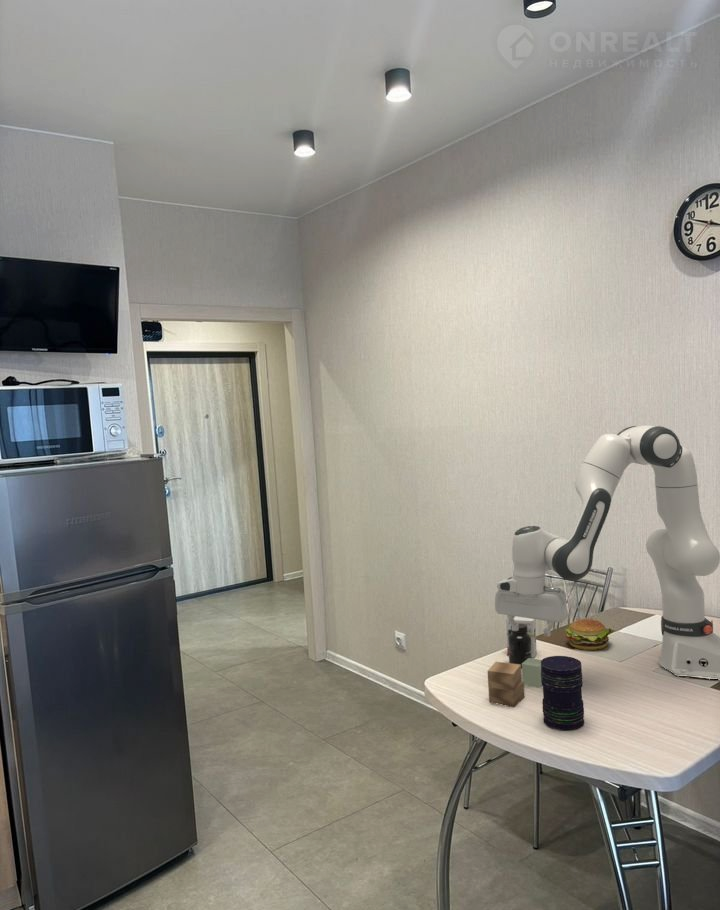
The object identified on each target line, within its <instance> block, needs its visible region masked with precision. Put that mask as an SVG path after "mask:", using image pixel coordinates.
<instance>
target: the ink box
mask: <svg viewBox="0 0 720 910" xmlns="http://www.w3.org/2000/svg"><path fill="white" fill-rule="evenodd" d="M514 620H515V622H516V624H518V623H519V624H525V625H527V630H528V632H527V633H528V634H529V635H530V637H531V648H532V658H535V657H536V655H537V654H538V653H537V623H536V622H537V621H536V620H537V619H531V618H524V617H517V616H515V617H514ZM505 622H506V647H507V649H506V652H507V656H508V657H509V648H508V636H509V635H510V634H511V633H512V632H511V624H510V622H509V620H508V618H507V617H506V621H505Z"/></svg>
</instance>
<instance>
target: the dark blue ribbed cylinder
mask: <svg viewBox="0 0 720 910" xmlns="http://www.w3.org/2000/svg"><path fill="white" fill-rule="evenodd" d="M540 660H541V683H542V686H541V687H542V695H543V697H542V699H541V701H542V703H541V704H542V707H541V708H542V714H543V724H544V725H545V726H546V727H548V728H550V729H552V730H556V731H560V732H561V731H562V732H572V731H577V730H580V729H581V728H583V727H584V726H585V720H584V717H585V708H584V705H585V704H584V699H583V695H582V694H583V693H582V692H583V691H582V688H583V683H584V681H583V669H582V661H581V660H579V659H577V658H575V657H572V656H566V655H551V656H548V657H544V658H542V659H540Z"/></svg>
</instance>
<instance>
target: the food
mask: <svg viewBox="0 0 720 910" xmlns="http://www.w3.org/2000/svg"><path fill="white" fill-rule="evenodd" d="M567 627H568V628H565V629H564V630H565V638H566V639H568V641H569V645H570V646H571V647H573V648H576V649H579V650H584V651H597V649H598V650H602V649H604V648H606V647H608V642H609V640H610V638H609V636H608V635H610V634H611V633H612V629H611V628H606V625H604V624H603V623H602V622H601V621H599V620H597V619H593V618H580V619H577V620H574V621H572V622H571V624H570V625H569V626H567Z"/></svg>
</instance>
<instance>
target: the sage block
mask: <svg viewBox="0 0 720 910" xmlns="http://www.w3.org/2000/svg"><path fill="white" fill-rule="evenodd" d="M541 660H542V659H539V658H538V659H537V658H533V657H532V658H528V659H527V660H526V661H524V662H523V663H522V668H521V675H522V682H524V686H525V685H526V686H530V687H536V688H539V687H540V688H541V687H543V686H542V683H541Z"/></svg>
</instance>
